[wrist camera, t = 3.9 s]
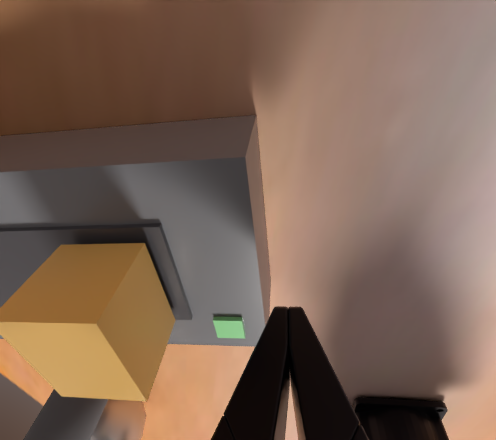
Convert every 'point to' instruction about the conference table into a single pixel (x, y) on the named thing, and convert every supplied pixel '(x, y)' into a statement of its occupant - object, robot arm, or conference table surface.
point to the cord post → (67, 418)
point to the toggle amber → (92, 321)
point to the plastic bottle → (121, 421)
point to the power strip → (149, 214)
